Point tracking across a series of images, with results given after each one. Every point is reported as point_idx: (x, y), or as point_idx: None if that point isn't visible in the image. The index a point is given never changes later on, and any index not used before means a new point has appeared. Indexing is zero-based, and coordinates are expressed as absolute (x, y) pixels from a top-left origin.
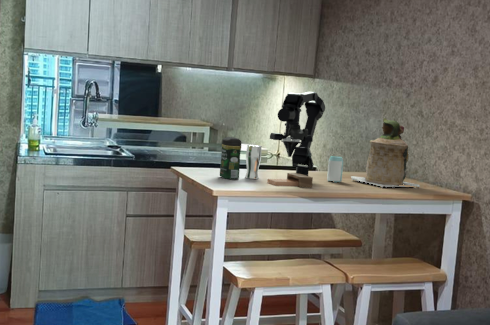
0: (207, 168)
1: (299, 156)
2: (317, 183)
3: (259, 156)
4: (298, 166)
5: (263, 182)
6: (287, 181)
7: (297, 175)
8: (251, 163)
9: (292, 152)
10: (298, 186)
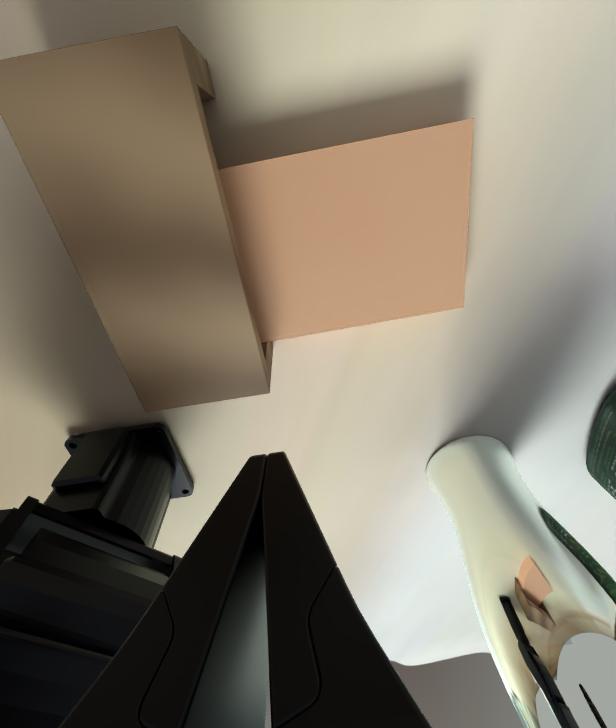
0: None
1: (81, 632)
2: (12, 394)
3: (538, 599)
4: (129, 547)
5: (480, 299)
6: (317, 185)
7: (193, 219)
8: (562, 527)
9: (217, 522)
10: (213, 93)
